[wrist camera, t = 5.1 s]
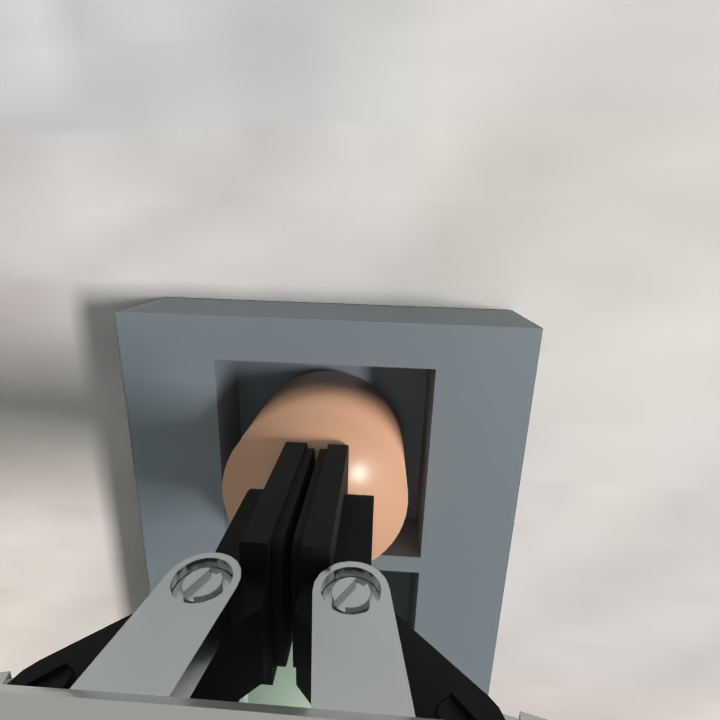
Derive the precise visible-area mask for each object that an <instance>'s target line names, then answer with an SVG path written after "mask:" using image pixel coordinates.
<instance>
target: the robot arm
mask: <svg viewBox="0 0 720 720" xmlns="http://www.w3.org/2000/svg"><path fill="white" fill-rule="evenodd" d="M348 464H349V445H340V444H328V447H327V449H320V450H319V454H318V457H317V460H316V464H315V449H314V448H308V444H307V443H302V442H286V443H285V445H284V447H283V449H282V451H281V453H280V455H279V458H278V460H277V462H276V464H275V466H274V468H273V470H272V472H271V474H270V477H269V479H268V481H267V483H266V485H265V487H264V489H252V488H251V489H249V490H248V492H247V493H246V495H245V497H244V499H243V501H242V502H241V504H240V506H239V508H238V510H237V512H236V514H235V516H234V517H233V519H232V521H231V523H230V525H229V527H228V529H227V531H226V532H225V534H224V536H223V538H222V540H221V542H220V544H219V546H218V547H217V549H216V551H215V553H213V552H209V553H203V554H198V555H195V556H192V557H189V558H187V559H185V560H184V561H182V562H180V563H178V564H177V565H176V566H175V567H173V568H172V569H171V570H170V571H169V572H168V573H167V574H166V576H165V577H164V578H163V579H162V580H161V581H160V583H159V584H158V585H157V586H156V587H155V589H154V590H153V591H152V592H151V593H150V594H149V596H148V597H147V598H146V599H145V600H144V602H143V603H142V604H141V605H140V606H139V607H138V609H137V610H136V611H135V612H134V613H133V614H131V615H129V616H127V617H125V618H123V619H121V620H119V621H117V622H115V623H113V624H111V625H109V626H107V627H105V628H103V629H101V630H99V631H97V632H95V633H93V634H91V635H89V636H87V637H85V638H83V639H81V640H79V641H77V642H75V643H73V644H71V645H69V646H67V647H65V648H63V649H61V650H59V651H57V652H55V653H53V654H51V655H49V656H47V657H45V658H43V659H41V660H39V661H38V662H36V663H34V664H33V665H31V666H29V667H28V668H26V669H24V670H23V671H22V672H20V673H19V674H18V675H17V676H16V677H15V678H13V679H12V677H11V673H10V671H7V672H0V720H546V719H543V718H540V717H537V716H534V715H530V714H527V713H524V712H521V711H520V715H519V719H518V718H515V717H511V716H508V715H505V714H502V712H501V711H500V709H499V707H498V706H497V705H496V704H495V703H494V702H493V701H492V699H491V698H490V697H489V696H488V695H487V694H486V693H485V692H483V691H482V690H481V689H480V688H479V687H478V686H477V685H476V684H474V683H473V682H472V681H471V680H470V679H469V678H468V677H467V676H465V675H464V674H463V673H462V672H461V671H460V670H459V669H458V668H456V667H455V666H454V665H453V664H452V663H451V662H450V661H448V660H447V659H446V658H445V657H444V656H443V655H442V654H441V653H439V652H438V651H437V650H436V649H435V648H434V647H433V646H432V645H430V644H429V643H428V642H427V641H426V640H425V639H424V638H423V637H421V636H420V635H419V634H418V633H417V632H416V631H415V630H414V629H412V628H411V627H410V626H409V625H408V624H407V623H406V622H404V621H403V620H402V619H401V618H400V617H399V616H398V615H397V614H395V613H394V608H393V603H392V598H391V593H390V588H389V585H388V583H387V580H386V578H385V577H384V576H383V575H382V574H381V572H380V571H379V570H377V569H375V568H374V567H372V566H371V561H372V536H373V512H374V496H373V495H355V494H348ZM291 644H293V667H294V668H296V685H297V687H298V688H299V689H300V691H301V692H302V693H303V695H304V696H305V697H306V699H307V700H308V701H309V703H310V704H311V708H303V707H291V706H279V705H267V704H254V703H248V693H250V692H251V691H252V690H254V689H255V688H256V687H258V686H259V685H261V684H263V685H273V682H274V678H275V674H276V670H277V666H280V667H286V665H287V662H288V657H289V653H290V649H291Z"/></svg>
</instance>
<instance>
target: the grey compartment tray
mask: <svg viewBox="0 0 720 720" xmlns="http://www.w3.org/2000/svg"><path fill="white" fill-rule="evenodd" d="M114 313H115V321H116V329H117V336H118V344H119V352H120V360H121V368H122V376H123V384H124V391H125V399H126V407H127V415H128V423H129V431H130V439H131V447H132V454H133V462H134V470H135V478H136V486H137V494H138V502H139V510H140V517H141V525H142V533H143V541H144V549H145V557H146V565H147V572H148V580H149V588H150V593H151V592H152V591H153V590H154V589H155V587H156V586H157V585H158V584H159V583H160V581H161V580H162V579H163V578H164V577H165V576H166V574H167V573H168V572H169V571H170V570H171V569H172V568H173V567H175V566H176V565H177V564H178V563H180V562H182V561H184V560H185V559H187V558H189V557H192V556H195V555H198V554H203V553H209V552H213V553H215V551H216V549H217V547H218V546H219V544H220V542H221V540H222V538H223V536H224V534H225V532H226V531H227V529H228V527H229V525H230V523H231V522H230V520H229V518H228V515H227V513H226V509H225V506H224V501H223V494H222V481H223V475H224V470H225V467H226V464H227V461H228V459H229V457H230V455H231V453H232V451H233V450H234V448H235V447H236V445H237V444H238V443H239V441H240V440H241V438H242V437H243V435H244V434H245V433H246V431H247V430H248V428H249V427H250V425H251V424H252V423H253V421H254V420H255V418H256V417H257V415H258V414H259V413H260V411H261V410H262V408H263V407H264V405H265V404H266V403H267V401H268V400H269V398H270V397H271V396H272V395H273V394H274V392H275V391H276V390H277V389H279V388H280V387H281V386H282V385H284V384H285V383H287V382H288V381H290V380H292V379H294V378H296V377H298V376H301V375H304V374H307V373H311V372H318V371H335V372H342V373H346V374H350V375H353V376H356V377H358V378H361V379H363V380H364V381H366V382H368V383H370V384H371V385H373V386H374V387H375V388H377V389H378V390H379V391H380V392H381V393H382V394H383V395H384V396H385V397H386V398H387V399H388V401H389V402H390V403H391V405H392V406H393V408H394V410H395V412H396V414H397V416H398V418H399V422H400V425H401V430H402V436H403V447H404V457H405V468H406V478H407V489H408V506H407V513H406V517H405V520H404V523H403V526H402V528H401V530H400V532H399V534H398V535H397V537H396V538H395V540H394V541H393V543H392V544H391V545H390V546H389V547H388V548H387V549H386V550H385V551H384V552H383V553H382V554H381V555H380V556H378V557H377V558H376V559H374V560H372V561H371V566H372V567H374V568H375V569H377V570H379V571H380V572H381V574H382V575H383V576H384V577H385V578H386V580H387V583H388V585H389V588H390V593H391V598H392V603H393V608H394V613H395V614H397V615H398V616H399V617H400V618H401V619H402V620H403V621H404V622H406V623H407V624H408V625H409V626H410V627H411V628H412V629H414V630H415V631H416V632H417V633H418V634H419V635H420V636H421V637H423V638H424V639H425V640H426V641H427V642H428V643H429V644H430V645H432V646H433V647H434V648H435V649H436V650H437V651H438V652H439V653H441V654H442V655H443V656H444V657H445V658H446V659H447V660H448V661H450V662H451V663H452V664H453V665H454V666H455V667H456V668H458V669H459V670H460V671H461V672H462V673H463V674H464V675H465V676H467V677H468V678H469V679H470V680H471V681H472V682H473V683H474V684H476V685H477V686H478V687H479V688H480V689H481V690H482V691H483V692H485V693H486V694H487V695H488V692H489V686H490V679H491V672H492V666H493V659H494V652H495V646H496V639H497V632H498V626H499V619H500V612H501V605H502V599H503V592H504V585H505V579H506V572H507V565H508V559H509V552H510V545H511V538H512V532H513V525H514V518H515V512H516V505H517V498H518V492H519V485H520V478H521V472H522V465H523V458H524V451H525V445H526V438H527V431H528V425H529V418H530V411H531V405H532V398H533V391H534V385H535V378H536V371H537V364H538V358H539V351H540V344H541V338H542V331H543V328H541V327H540V326H538V325H536V324H534V323H533V322H531V321H529V320H528V319H526V318H524V317H522V316H521V315H519V314H517V313H516V312H514V311H512V310H491V309H465V308H438V307H412V306H386V305H359V304H333V303H307V302H281V301H254V300H228V299H202V298H176V297H164V298H160V299H157V300H153V301H150V302H146V303H142V304H139V305H135V306H132V307H128V308H125V309H121V310H118V311H114Z"/></svg>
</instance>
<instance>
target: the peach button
mask: <svg viewBox="0 0 720 720" xmlns="http://www.w3.org/2000/svg"><path fill="white" fill-rule="evenodd" d="M286 442H302V443H307V444H308V448H314V449H315V464H316V460H317V457H318V454H319V450H320V449H327V447H328V444H340V445H349V464H348V494H355V495H373V496H374V512H373V536H372V560H374V559H376V558H377V557H378V556H380V555H381V554H382V553H383V552H384V551H385V550H386V549H387V548H388V547H389V546H390V545H391V544H392V543H393V541H394V540H395V538H396V537H397V535H398V534H399V532H400V530H401V528H402V526H403V523H404V520H405V517H406V513H407V506H408V489H407V478H406V468H405V457H404V447H403V436H402V430H401V425H400V422H399V418H398V416H397V414H396V412H395V410H394V408H393V406H392V405H391V403H390V402H389V401H388V399H387V398H386V397H385V396H384V395H383V394H382V393H381V392H380V391H379V390H378V389H377V388H375V387H374V386H373V385H371V384H370V383H368V382H366V381H364V380H363V379H361V378H358V377H356V376H353V375H350V374H346V373H342V372H335V371H318V372H311V373H307V374H304V375H301V376H298V377H296V378H294V379H292V380H290V381H288V382H287V383H285V384H284V385H282V386H281V387H280V388H279V389H277V390H276V391H275V392H274V394H273V395H272V396H271V397H270V398H269V400H268V401H267V403H266V404H265V405H264V407H263V408H262V410H261V411H260V413H259V414H258V415H257V417H256V418H255V420H254V421H253V423H252V424H251V425H250V427H249V428H248V430H247V431H246V433H245V434H244V435H243V437H242V438H241V440H240V441H239V443H238V444H237V445H236V447H235V448H234V450H233V451H232V453H231V455H230V457H229V459H228V461H227V464H226V467H225V470H224V475H223V481H222V494H223V501H224V506H225V509H226V513H227V515H228V518H229V520H230V522H231V521H232V519H233V517H234V516H235V514H236V512H237V510H238V508H239V506H240V504H241V502H242V501H243V499H244V497H245V495H246V493H247V492H248V490H249V489H251V488H252V489H264V487H265V485H266V483H267V481H268V479H269V477H270V474H271V472H272V470H273V468H274V466H275V464H276V462H277V460H278V458H279V455H280V453H281V451H282V449H283V447H284V445H285V443H286Z"/></svg>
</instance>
